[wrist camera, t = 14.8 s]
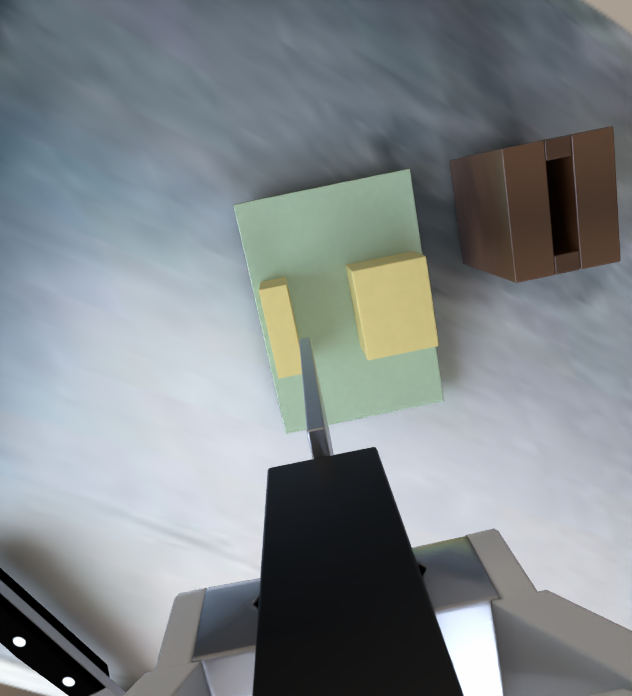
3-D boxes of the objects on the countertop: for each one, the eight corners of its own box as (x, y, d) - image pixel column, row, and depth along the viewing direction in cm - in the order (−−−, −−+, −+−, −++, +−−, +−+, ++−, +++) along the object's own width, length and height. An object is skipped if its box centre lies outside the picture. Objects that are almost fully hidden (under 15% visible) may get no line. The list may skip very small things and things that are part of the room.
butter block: (345, 264, 33) (351, 271, 30) (413, 250, 33) (426, 255, 30) (360, 347, 34) (367, 361, 31) (426, 333, 34) (439, 346, 31)
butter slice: (260, 281, 33) (258, 289, 30) (286, 276, 33) (286, 284, 30) (278, 363, 34) (278, 379, 31) (303, 358, 34) (305, 373, 31)
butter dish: (234, 204, 32) (233, 204, 31) (406, 169, 32) (410, 168, 31) (285, 428, 36) (285, 434, 35) (439, 396, 36) (444, 401, 35)
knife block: (449, 160, 32) (501, 148, 25) (534, 142, 32) (614, 125, 25) (462, 263, 34) (515, 283, 26) (544, 247, 34) (621, 261, 26)
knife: (270, 344, 20) (227, 749, 5) (338, 330, 20) (476, 699, 5) (291, 435, 21) (301, 988, 6) (355, 422, 21) (514, 948, 6)
